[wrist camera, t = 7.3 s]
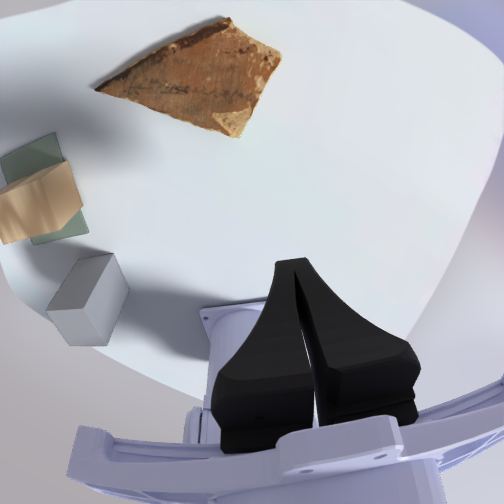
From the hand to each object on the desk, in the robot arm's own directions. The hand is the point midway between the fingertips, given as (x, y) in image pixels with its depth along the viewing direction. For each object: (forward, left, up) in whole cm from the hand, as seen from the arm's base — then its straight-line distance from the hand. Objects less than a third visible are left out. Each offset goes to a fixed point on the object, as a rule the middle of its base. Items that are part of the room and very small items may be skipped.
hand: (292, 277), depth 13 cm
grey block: (-5, +16, -11) cm, 20 cm away
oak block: (+4, +15, -8) cm, 17 cm away
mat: (+4, +19, -10) cm, 22 cm away
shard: (+8, +4, -11) cm, 14 cm away
